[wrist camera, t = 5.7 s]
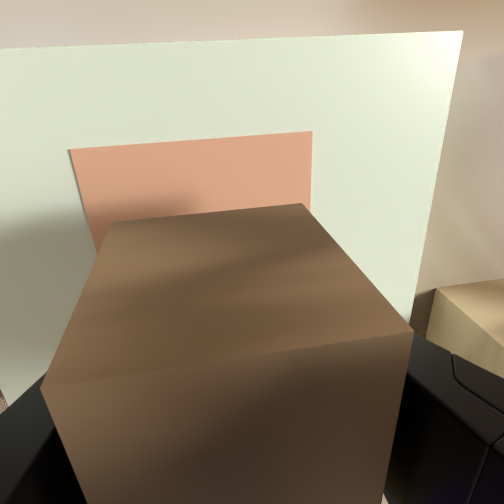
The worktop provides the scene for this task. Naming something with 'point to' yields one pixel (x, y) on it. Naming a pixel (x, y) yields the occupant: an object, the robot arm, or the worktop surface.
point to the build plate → (210, 156)
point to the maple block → (471, 323)
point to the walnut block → (228, 365)
